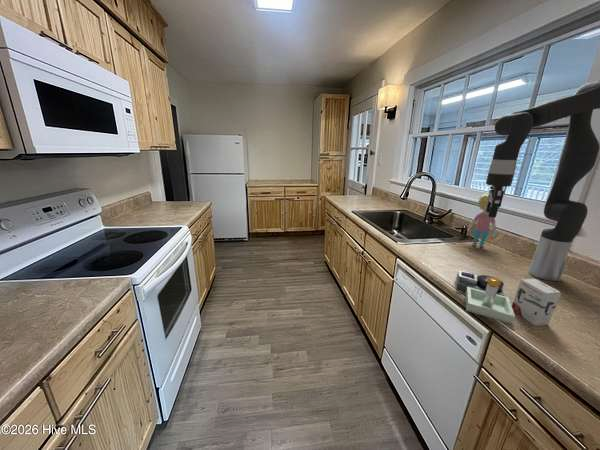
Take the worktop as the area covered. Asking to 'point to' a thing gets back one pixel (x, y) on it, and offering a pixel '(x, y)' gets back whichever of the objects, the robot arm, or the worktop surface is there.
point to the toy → (482, 222)
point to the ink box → (535, 301)
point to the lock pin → (490, 292)
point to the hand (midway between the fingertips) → (490, 214)
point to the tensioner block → (474, 282)
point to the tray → (498, 311)
